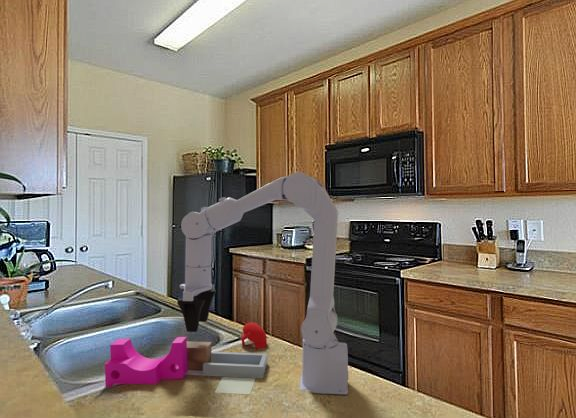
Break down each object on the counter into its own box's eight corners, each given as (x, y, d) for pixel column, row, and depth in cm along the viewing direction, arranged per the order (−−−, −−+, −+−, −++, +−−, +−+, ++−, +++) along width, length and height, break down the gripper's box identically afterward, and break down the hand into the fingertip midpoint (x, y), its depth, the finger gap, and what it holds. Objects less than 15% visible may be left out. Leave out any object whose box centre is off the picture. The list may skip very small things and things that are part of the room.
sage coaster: (255, 381, 81) (255, 378, 81) (249, 397, 74) (249, 394, 74) (222, 379, 82) (222, 377, 82) (214, 395, 75) (214, 392, 75)
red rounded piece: (232, 333, 102) (242, 326, 98) (248, 321, 107) (258, 314, 102) (249, 359, 101) (259, 353, 97) (265, 346, 105) (275, 340, 101)
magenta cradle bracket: (105, 386, 78) (104, 349, 78) (119, 373, 84) (118, 338, 84) (179, 384, 78) (177, 346, 78) (187, 371, 84) (186, 336, 84)
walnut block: (211, 363, 89) (211, 342, 89) (206, 371, 85) (206, 348, 85) (185, 362, 89) (186, 341, 89) (179, 369, 85) (180, 347, 85)
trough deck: (267, 365, 90) (267, 353, 90) (262, 380, 82) (262, 367, 82) (187, 362, 91) (187, 350, 91) (175, 376, 83) (175, 363, 83)
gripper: (191, 261, 94) (190, 316, 94) (169, 270, 80) (167, 335, 80) (219, 261, 94) (218, 317, 94) (202, 271, 79) (201, 337, 79)
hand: (197, 326), depth 87 cm, fingers open, 7 cm apart
